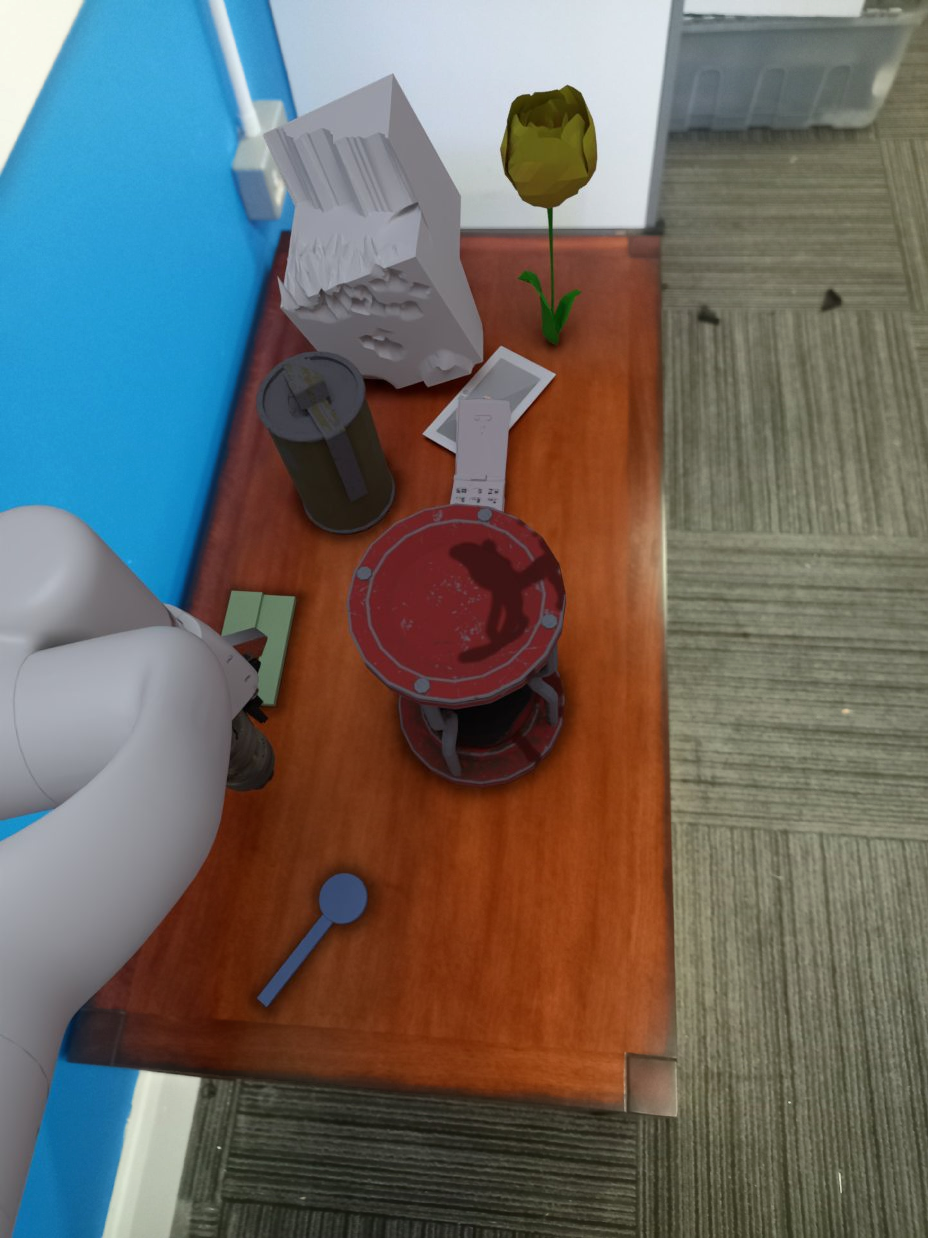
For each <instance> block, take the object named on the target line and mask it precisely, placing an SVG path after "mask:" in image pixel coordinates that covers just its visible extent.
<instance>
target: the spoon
mask: <svg viewBox="0 0 928 1238" xmlns="http://www.w3.org/2000/svg"><path fill="white" fill-rule="evenodd" d="M368 902H369V893H368V889H367V886H366V885H365V883H364V881H363V880H362V879H361V878H359V877H358V876H356V875H354V874H352V873H348V872H342V873H337V874H334V875H333V876H331V877H329V878H328V879H327V880H326V881H325V882H324V884H323V885H322V887H321V889H320V891H319V895H318V906H319V909H320V911H321V913H322V915H321V916H320V917H319V918H318V919H317V921H316V922H315V923H314V925H312V927H311V928H310V930H309V931H308V933H307V934H306V935H305V936H304V937H303V939H302V940H301V941H300V943H298V945H297V947H296V948H295V949H294V950H293V951H292V952H291V953H290V955H289V956H288V958H287V959H286V960H285V961H284V962H283V964H282V965H281V967H280V968H279V969H278V970H277V972H276V973H275V974H274V975H273V977H272V978H271V979H270V981H269V982H268V983H267V984H266V985H265V987H264V988H263V989H262V991H261V992H260V994H259V995H258V996H257V998H256V1000H258V1001H259V1002H261V1004H262V1005H264V1006H265V1008H269V1007H270V1006H271V1004H272V1003H273V1001H275V999H276V998H277V997H278V995H279V994H280V993H281V991H282V990H283V989H284V988H285V986H286V985H287V984H288V982H289V981H290V980H291V978H292V977H293V976H294V975H295V973H296V972H297V971H298V970H299V968H300V967H301V966H302V965H303V964H304V962H305V961H306V960H307V958H308V957H309V955H311V953H312V951H313V950H314V949H315V948H316V946H317V945H318V944H319V943H320V941H321V940H322V939H323V938H324V936H325V935H326V934H327V932H328V931H329V930H330V928H331V927H332V926H333V925H334V924H336V925H337V924H338V925H348V924H351V923H354V922H356V921H357V920H358V919H360V918H361V916H362V915H363V914H364V913H365V912H366V909H367V906H368V904H369V903H368Z"/></svg>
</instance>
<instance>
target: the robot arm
mask: <svg viewBox="0 0 928 1238" xmlns="http://www.w3.org/2000/svg"><path fill="white" fill-rule="evenodd" d="M267 640H268V637H267V636H266V635H265V634H263V633H262V632H261V631H259V630H258V629H257V628H255V627H253V628H250V629H246V630H243V631H239V632H236V633H233V634H229V635H226V636H222V637H221V635H220V634H219V633H218V632H217V631H216V630H214V629H213V628H212V627H211V626H209V625H208V624H207V623H205V622H204V621H202V620H200V619H199V618H197V617H195V616H193V615H192V614H191V613H189V612H187V611H185V610H183V609H181V608H179V607H178V606H175V605H172V604H169V603H164V602H162V601H161V600H160V599H159V597H158V596H156V595H155V594H154V592H153V591H152V590H151V589H150V588H149V587H148V586H147V585H146V584H145V583H144V582H143V580H141V579H140V577H138V575H137V574H136V573H135V572H134V571H133V570H132V569H131V568H130V567H129V566H128V565H127V564H126V562H124V560H123V559H122V558H121V557H120V556H119V555H118V554H117V553H116V552H115V551H114V550H113V549H112V548H111V546H109V545H108V543H106V542H105V540H104V539H103V538H102V537H101V536H100V535H99V534H98V533H97V531H95V530H94V529H93V528H92V527H91V526H90V525H89V524H87V523H86V522H85V520H83V519H82V518H80V517H79V516H78V515H76V514H73V513H72V512H70V511H68V510H66V509H63V508H59V507H56V506H52V505H45V504H32V505H31V504H30V505H21V506H17V507H13V508H9V509H7V510H4V511H2V512H0V822H2V821H7V820H11V819H15V818H20V817H25V816H29V815H34V814H39V813H42V812H47V811H49V812H47V813H46V814H45V815H43V816H42V817H40V818H39V819H37V820H36V821H34V822H31V823H30V824H28V825H27V826H25V827H24V828H22V829H20V830H18V831H16V832H15V833H13V834H12V835H10V836H8V837H6V838H4V839H2V840H0V1238H13V1235H14V1231H15V1226H16V1223H17V1218H18V1215H19V1212H20V1208H21V1204H22V1199H23V1195H24V1192H25V1189H26V1184H27V1181H28V1177H29V1172H30V1169H31V1165H32V1161H33V1158H34V1153H35V1149H36V1146H37V1145H36V1144H37V1141H38V1136H39V1135H40V1130H41V1126H42V1123H43V1119H44V1114H45V1111H46V1107H47V1104H48V1100H49V1096H50V1091H51V1089H52V1088H51V1087H52V1083H53V1079H54V1076H55V1075H54V1074H55V1072H56V1071H55V1070H56V1067H57V1062H58V1059H59V1054H60V1050H61V1046H62V1043H63V1039H64V1036H65V1033H66V1030H67V1028H68V1026H69V1024H70V1022H71V1020H72V1018H74V1016H75V1015H76V1013H78V1011H79V1010H80V1009H81V1008H82V1007H84V1005H85V1004H86V1003H87V1002H88V1001H89V1000H90V999H91V998H93V996H95V994H96V993H98V992H99V991H100V990H101V989H102V988H103V987H104V986H105V985H106V984H107V983H108V982H109V981H110V980H111V979H112V978H113V977H114V976H115V975H116V974H118V972H119V971H120V970H121V969H122V968H123V967H124V966H125V965H126V964H127V963H128V962H129V961H130V960H131V958H132V957H133V956H134V955H135V954H136V953H137V952H138V951H139V950H140V949H141V947H142V946H143V945H144V944H145V942H146V941H147V940H148V939H149V937H151V935H152V934H153V933H154V931H155V930H156V929H157V928H158V926H160V924H161V923H162V922H163V920H165V918H166V917H167V915H168V914H169V913H170V912H171V911H172V910H173V908H174V907H175V906H176V904H177V903H178V902H179V901H180V900H181V897H182V896H183V895H184V894H185V892H186V891H187V889H188V888H189V886H190V885H191V884H192V882H193V881H194V879H195V878H196V877H197V875H198V874H199V873H200V870H201V868H202V867H203V865H204V863H205V862H206V860H207V858H208V856H209V855H210V852H211V850H212V847H213V845H214V843H215V841H216V838H217V834H218V831H219V828H220V824H221V820H222V815H223V809H224V803H225V797H226V788H227V787H226V782H227V774H228V767H229V759H230V750H231V737H232V720H233V719H234V717H235V716H236V715H237V714H238V713H239V712H240V711H241V709H242V708H243V709H244V710H245V712H246V713H247V714H248V716H249V717H252V718H253V719H254V720H256V722H258V723H259V724H260V725H262V724H265V723H266V722H267V721H268V720H269V716H267V715H266V714H265V712H263V710H262V709H261V708H260V707H261V704H262V703H263V702H264V701H263V700H262V699H261V698H260V697H259V696H258V695H257V694H258V692H259V689H258V688H257V686H258V682H259V676H258V672H259V669H260V666H261V662H260V661H259V657H261V656H262V654H263V651H264V648H265V645H266V643H267Z"/></svg>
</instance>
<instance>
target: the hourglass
mask: <svg viewBox="0 0 928 1238" xmlns="http://www.w3.org/2000/svg"><path fill="white" fill-rule="evenodd" d="M352 572H353V573H352V577H351V581H350V584H349V589H348V593H347V598H346V613H347V621H348V630H349V634H350V637H351V639H352V641H353V643H354V645H355V647H356V649H357V651H358V653H359V655H360V657H361V659H362V661H363V663H364V665H365V667H366V668H367V669H368V671H370V672H371V673H372V674H373V675H374V676H375V677H376V678H377V679H378V680H379V681H380V682H381V683H382V684H383V685H384V686H385V687H386V688H387V689H388V690H389V691H390V692H393V693H395V694H397V695H399V697H398V698H399V699H398V703H397V705H398V713H399V714H398V715H399V721H400V729H401V730H402V733H403V735H404V737H405V739H406V741H407V743H408V745H409V747H410V749H411V752H412V753H413V755H414V756H415V757H416V758H417V759H418V760H419V761H420V762H421V763H422V764H423V765H424V766H425V767H426V768H427V769H428V770H429V771H430V772H431V773H432V774H435V775H436V776H439V777H441V778H443V779H445V780H447V781H449V782H450V783H453V784H455V785H460V786H467V787H475V788H482V789H483V788H488V787H494V786H499V785H505V784H509V783H511V782H514V781H515V780H517V779H519V778H521V777H523V776H525V775H527V774H528V773H530V772H532V771H533V770H534V769H535V768H536V767H538V765H539V764H540V763H541V762H542V761H543V760H544V759H545V758H546V757H547V756H548V755H549V754H550V753H551V752H552V750H553V747H554V746H555V743H556V742H557V739H558V738H559V735H560V733H561V731H562V728H563V720H564V713H565V712H564V711H565V705H566V698H565V694H564V689H563V684H562V680H561V676H560V673H559V671H558V670H557V669H558V668H559V660H558V659H559V658H558V656H559V653H558V651H559V650H558V642H559V641H560V638H561V636H562V633H563V627H564V620H565V613H566V606H567V605H566V604H567V593H566V587H565V582H564V579H563V574H562V569H561V565H560V562H559V561H558V559H557V558H556V555H555V554H554V553H553V551H552V550H551V548H550V547H549V545H548V544H547V542H546V541H545V539H544V537H543V536H541V534H539V533H538V532H537V531H536V530H534V529H533V528H532V527H531V526H529V524H527V523H525V522H524V521H523V520H521V519H520V518H519V517H517V516H514V515H512V514H509V513H507V512H505V511H504V512H502V511H500V510H497V509H495V508H492V507H489V506H481V505H470V504H459V503H455V504H450V503H449V504H445V505H439V506H434V507H428V508H423V509H420V510H419V511H417V512H415V513H413V514H411V515H409V516H406V517H405V518H403V519H400V520H398V521H395V522H394V523H393V524H392V525H391V526H389V528H387V529H385V530H384V532H383V533H382V534H380V535H379V536H378V537H377V538H376V539H375V540H374V541H372V542H371V543H370V544H369V546H368V548H367V549H366V551H365V552H364V553H363V556H361V559H360V560H359V562H358V564H357V565H356V567H355V568H354V570H353V571H352Z"/></svg>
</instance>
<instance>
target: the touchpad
mask: <svg viewBox="0 0 928 1238" xmlns="http://www.w3.org/2000/svg"><path fill="white" fill-rule="evenodd" d="M556 375H557V374H556V373H555V372H553V371H551V370H548V369H547V368H545V367H543V366H541V365H539V364H537V363H535V362H534V361H531V360H529V359H528V358H526V357H525V356H522V355H520V354H518V353H516V352H514V351H512V350H511V349H508V348H506V347H504V346H502V345H500V346H499V347H498V348H497V349H496V350H495V352H494V353H493V354H492V355H491V356H490V357H489V358H488V359H487V361H486V362H485V363H484V364H483V365H482V366H481V367H480V368H479V370H478V371H477V372H476V373H475V374H474V375H473V377H472V378H470V380H468V382H466V384H465V385H464V386H463V387H462V388H461V390H460V391H459V392H458V393H457V394H456V396H454V398H453V399H452V400H451V401H450V402H449V403H448V404H447V406H445V408H443V410H442V411H441V413H440V414H439V415H438V416H437V417H436V418H435V419H434V420H433V421H432V422H431V423H430V425H429V426H428V427H427V428H426V429H425V430H424V431H423V433H422V435H423V436H425V437H426V438H428V439H430V440H431V441H433V442H434V443H437V444H438V445H440V446H441V447H443V448H445V449H447V450H449V451H451V452H452V453H454V454H456V434H457V421H456V409H457V408H458V401H459V400H463V399H498V400H508V401H510V410H511V421H510V422H509V430H510V429H511V428H512V427H513V426H514V425H515V423H517V421H518V420H519V419H520V417H521V416H522V415H523V414H525V412H526V410H528V408H529V407H530V406H531V405H532V404H533V402H534V401H535V400H536V399H537V398H538V396H539V395H540V394H541V393H542V392H543V391H544V390H545V388H547V386H548V385H549V384H550V383H551V381H552V380H553V379H554V378H555V376H556ZM509 416H510V413H509Z"/></svg>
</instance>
